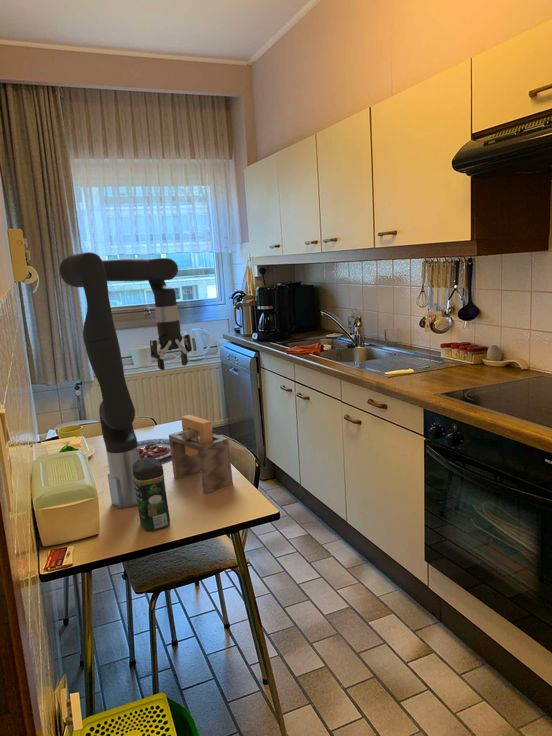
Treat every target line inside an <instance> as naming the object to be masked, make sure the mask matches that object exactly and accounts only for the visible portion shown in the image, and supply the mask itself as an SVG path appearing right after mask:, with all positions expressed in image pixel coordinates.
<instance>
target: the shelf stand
mask: <svg viewBox="0 0 552 736" xmlns="http://www.w3.org/2000/svg"><path fill="white" fill-rule="evenodd" d="M213 428H214V427H213V426H212V425H211V429H212V438H213V441H212V442H209V443H206V444H201V443H199V431H197V430H194V429H190V430H187V431H184V432H183V430H180V431H178V432H174V433H171V434H168V439H169V441H170V449H171V455H170V456H171V463H172V465H171V466H172V472H173V478H174V479H175V480H176V479H177V480H178V479H181V478H183V477H187V476H189V475H192V474H194V473H198V472H200V475H201V485H202V492H203V493H205V494H208V493H212V492H214V491H216V490H219V489H222V488H224V487H227V486H229V485H232V484H233V482H234V481H233V472H232V471H233V470H232V465H231V464H232V463H231V454H230V453H231V451H230V442H229V438H227V437H224V436H221V435H218V434H215V433H213V432H214V429H213ZM193 438H196V440H197V442H196V441H193V440H191V439H193ZM185 446H188V447H190V448H193V449H195V450H198V454H196V455H193V456H188V455H186V454H185Z"/></svg>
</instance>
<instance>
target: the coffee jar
mask: <svg viewBox="0 0 552 736" xmlns="http://www.w3.org/2000/svg"><path fill="white" fill-rule="evenodd" d="M163 467H164V465H162V463H161V462H160V460H157V459H154V458H152V457H147V458H143V459H138V460H137V461H136V462H135V463H134V464H133V477H134V485H135V492H136V498H137V504H138V505H137V510H138V516H139V517H138V518H139V521H140V522H139V524H140V525H141V527H142V528H143V530H144V531H159V530H162V529H164V528H165V527H168V526H169V525H170V523H171V519H170V518H171V517H170V513H169V505H168V497H167V490H166V483H165V474H164V468H163Z"/></svg>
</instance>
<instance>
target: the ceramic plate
mask: <svg viewBox="0 0 552 736" xmlns="http://www.w3.org/2000/svg"><path fill="white" fill-rule="evenodd" d="M137 444H138V451H139V459H143V458H147V457H152V458H154V459H157V460H158V461H160V460H161V459H164V458H168V457H170V456H171V449H170V441H169V438H152V439H144V440H143V439H142V440H137ZM159 446H162V447H159ZM144 447H145V448H144ZM141 448H144V449H141Z"/></svg>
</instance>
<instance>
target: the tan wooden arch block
mask: <svg viewBox="0 0 552 736" xmlns="http://www.w3.org/2000/svg"><path fill="white" fill-rule="evenodd" d="M180 420H181V427H182V428H181V429H182V431H183V432H184V431H187V430H190V429H194V430H197V431H199V440H200V443H201V444H206V443H209V442H212V441H213V438H212V433H213V432H212V429H211V426H212V422H211V420H207V419H205V418H201V417H198V416H195V415H191V414H185V415H183V416H181V417H180ZM191 440H193V441H196V442H197V440H196V438H193V439H191ZM185 454H186V455H188V456H193V455H196V454H198V450H195V449H193V448H190V447H188V446H185Z"/></svg>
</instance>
